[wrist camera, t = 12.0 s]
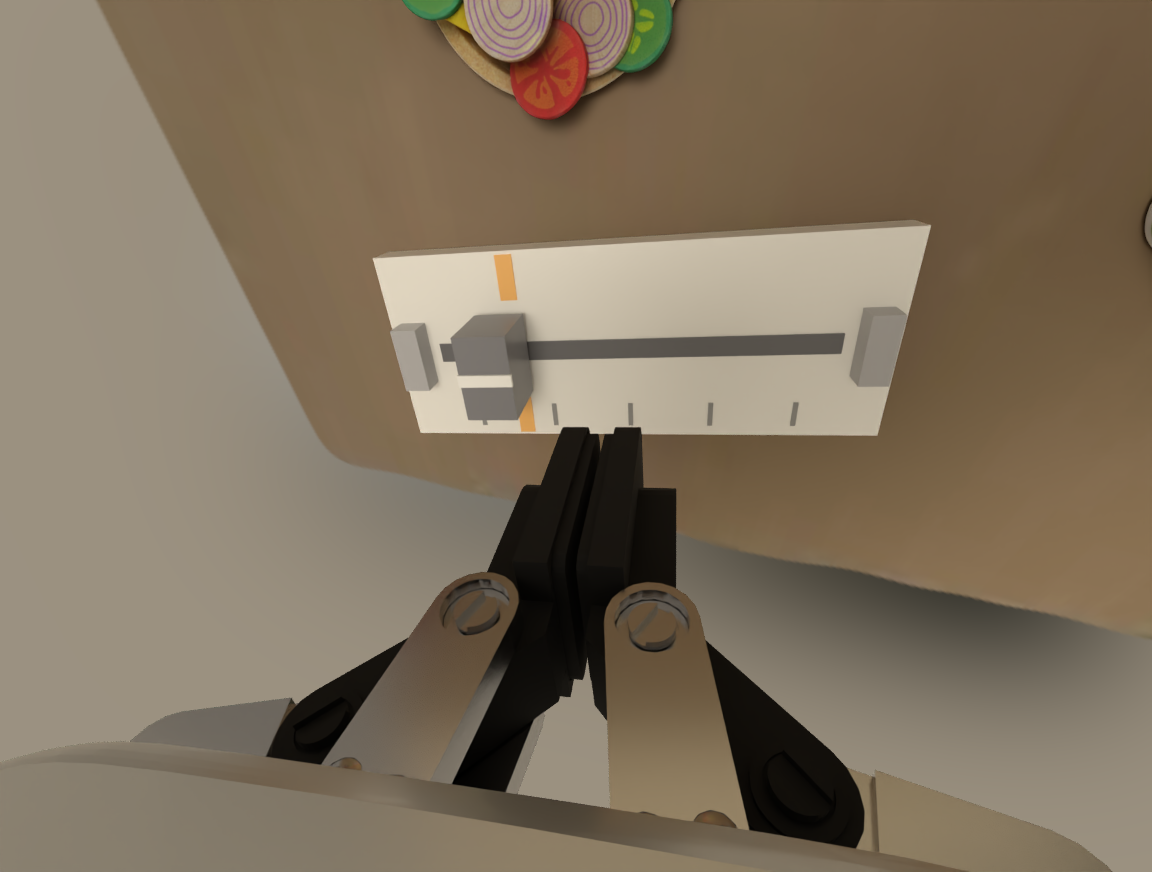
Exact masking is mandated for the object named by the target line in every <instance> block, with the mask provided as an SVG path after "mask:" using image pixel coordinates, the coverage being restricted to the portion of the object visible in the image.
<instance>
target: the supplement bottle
mask: <svg viewBox="0 0 1152 872" xmlns="http://www.w3.org/2000/svg"><path fill="white" fill-rule="evenodd" d="M1145 235H1146V239H1147V241H1148V243H1149V245H1150V246H1151V247H1152V203H1151V205H1150V207H1149V210H1148V212H1147V216H1146V220H1145Z"/></svg>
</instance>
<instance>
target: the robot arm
mask: <svg viewBox="0 0 1152 872" xmlns="http://www.w3.org/2000/svg"><path fill="white" fill-rule="evenodd" d="M587 657H588V664H589V671H590V678H591V681H592V688H593V695H594V703H595V706H596V707H597V709H598V710H599V711H600V712H601V714H602V715H603V716H604V718H605V719H606V720H607V727H608V759H609V791H610V808H604V807H597V806H590V805H584V804H578V803H571V802H565V801H558V800H552V799H545V798H539V797H532V796H525V795H518V791H519V788H520V786H521V783H522V780H523V778H524V775H525V772H526V770H527V767H528V764H529V762H530V759H531V756H532V753H533V751H534V748H535V746H536V743H537V740H538V737H539V735H540V732H541V729H542V726H543V721H544V717H545V714H544V712H545V711H546V710H547V709H549V708H550V707H551V706H553V705H554V704H556V703H557V702H558V701H559V698H560V696H564V697H571V692H572V686H573V681H574V679H579V680H583V677H584V674H585V668H586V663H587ZM0 872H1112V871H1111V870H1110V869H1109V867H1108V866H1107V865H1105V864H1104V863H1103V862H1102V861H1100V860H1099V859H1097V858H1096V857H1095V856H1094V855H1093V854H1091V853H1090V852H1089V851H1087V850H1086V849H1085V848H1084V847H1082V846H1081V845H1080V844H1078V843H1076V842H1074V841H1072V840H1070V839H1068V838H1066V837H1064V836H1062V835H1060V834H1058V833H1056V832H1054V831H1052V830H1049V829H1046V828H1043V827H1040V826H1037V825H1034V824H1031V823H1028V822H1026V821H1022V820H1019V819H1017V818H1014V817H1011V816H1008V815H1005V814H1002V813H999V812H996V811H994V810H991V809H988V808H985V807H982V806H979V805H976V804H973V803H970V802H967V801H964V800H961V799H959V798H955V797H953V796H950V795H947V794H944V793H941V792H938V791H935V790H932V789H929V788H926V787H924V786H921V785H918V784H915V783H912V782H909V781H906V780H903V779H900V778H897V777H894V776H891V775H888V774H885V773H883V772H880V771H877V770H875V771H874V774H873V776H869V775H867V774H864V773H861V772H858V771H855V770H852V769H849V768H846V766H845V765H844V764H843V763H842V762H841V761H840V760H839V759H838V758H837V757H836V756H835V754H834V753H833V752H832V751H831V750H830V749H828V748H827V747H826V746H825V745H824V744H823V743H822V742H820V741H819V740H818V739H817V738H816V737H815V736H814V735H812V734H811V733H810V732H809V731H808V730H807V729H806V728H805V727H803V726H802V725H801V724H800V723H799V722H798V721H797V720H795V719H794V718H793V717H792V716H791V715H790V714H789V713H788V712H786V711H785V710H784V709H783V708H782V707H781V706H780V705H778V704H777V703H776V702H775V701H774V700H773V699H772V698H770V697H769V696H768V695H767V694H766V693H765V692H763V690H761V689H760V688H759V687H758V686H757V685H756V684H755V683H754V682H752V681H751V680H750V679H749V678H748V677H747V676H746V675H744V674H743V673H742V672H741V671H740V670H739V669H737V668H736V667H735V666H734V665H733V664H732V663H731V662H730V661H729V660H727V659H726V658H725V657H724V656H723V655H722V654H721V653H719V652H718V651H717V650H716V649H715V648H714V647H712V645H710V644H709V643H708V642H707V641H706V640H705V636H704V632H703V627H702V623H701V619H700V615H699V613H698V611H697V608H696V606H695V604H694V603H693V602H692V601H691V600H690V599H689V598H688V596H686V594H684V593H682V592H681V591H679V590H678V589H676V489H671V488H643V459H642V432H641V427H615V429H614V434H605V436H604V440H603V445H602V449H601V453H600V442H599V435H598V434H590V430H589V428H588V427H563V428H562V430H561V432H560V435H559V438H558V440H557V443H556V446H555V448H554V451H553V454H552V456H551V459H550V462H549V464H548V467H547V470H546V472H545V475H544V478H543V480H542V483H541V485H526V486H524V487H523V489H522V491H521V493H520V495H519V498H518V500H517V502H516V505H515V507H514V510H513V512H512V514H511V517H510V519H509V522H508V524H507V526H506V528H505V531H504V533H503V536H502V538H501V540H500V543H499V545H498V547H497V550H496V553H495V555H494V557H493V559H492V562H491V564H490V567H489V569H488V571H487V572H480V573H475V574H469V575H467V576H464V577H462V578H459V579H457V580H455V581H454V582H452V583H451V584H450V585H448V586H447V587H445V588H444V590H443V591H442V592H441V593H440V594H439V595H438V596H437V597H436V599H435V600H434V602H433V603H432V605H431V606H430V607H429V609H428V610H427V612H426V613H425V615H424V616H423V618H422V619H421V620H420V622H419V623H418V625H417V626H416V628H415V629H414V631H413V632H412V634H411V635H410V637H409V638H407V639H405V640H403V641H402V642H400V643H398V644H396V645H395V646H393V647H391V648H389V649H388V650H386V651H384V652H382V653H381V654H379V655H377V656H375V657H374V658H372V659H370V660H368V661H366V662H365V663H363V664H361V665H359V666H358V667H356V668H354V669H352V670H351V671H349V672H347V673H345V674H344V675H342V676H340V677H339V678H337V679H335V680H333V681H331V682H330V683H328V684H326V685H324V686H323V687H321V688H319V689H317V690H316V691H314V692H313V693H311V694H310V695H309V696H307V697H306V698H304V699H303V700H302V701H300V702H299V703H297V704H295V703H294V701H293V700H292V698H284V699H277V700H269V701H262V702H254V703H245V704H238V705H230V706H222V707H214V708H206V709H198V710H190V711H183V712H179V713H175V714H172V715H169V716H165V717H164V718H162V719H160V720H158V721H156V722H155V723H153V724H151V725H149V726H148V727H146V728H145V729H144V730H143V731H142V732H141V733H139V734H138V735H137V736H135V737H134V738H133V739H132V740H131V741H130V742H124V741H123V742H122V741H121V742H97V743H86V744H78V745H71V746H65V747H59V748H54V749H48V750H43V751H39V752H35V753H32V754H28V755H25V756H21V757H17V758H14V759H10V760H6V761H2V762H0Z"/></svg>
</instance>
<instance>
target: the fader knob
mask: <svg viewBox="0 0 1152 872" xmlns="http://www.w3.org/2000/svg"><path fill="white" fill-rule="evenodd" d="M450 339H451V343H452V348H453V353H454V357H455V362H456V366H457V371H458V375H457V380H458V385H459V388H461V390H462V394H463V399H464V403H465V408H466V413H467V417H468V420H518V419H519V417H520V415H521V413H522V411H523V409H524V407H525V405H526V403H527V402H528V400H529V398H530V396H531V394H532V392H533V384H532V377H531V370H530V362H529V355H528V348H527V340H526V333H525V326H524V318H523V314H497V315H474V316H473V317H472V318H471V319H470V320H469V321H468V322H467V323H466V324H465V325H464V326H463V327H462V328H461V329H460V330H458V331H457V332H456V333H455V334H454V335H453V336H452V337H451V338H450Z"/></svg>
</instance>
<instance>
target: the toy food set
mask: <svg viewBox="0 0 1152 872" xmlns="http://www.w3.org/2000/svg"><path fill="white" fill-rule="evenodd" d="M402 1H403V2H404V4H405V5H406V6H407V8H408V9H409V10H410V11H412V12H413V13H414V14H416V15H417V16H419V17H421V18H423V19H426V20H431V21H436V22H437V24H438V25H439V27H440V29H441V31H442V32H443V34H444V36H445V37H446V39H447V40H448V42H449V43H450V45H451V46H452V47H453V49H454V50H455V51H456V53H457V54H458V55H459V56H460V57H461V58H462V60H463V61H464V62H465V63H466V64H467V65H468V66H469V67H470V68H471V69H472V70H473V71H475V72H476V73H477V74H478V75H479V76H480V77H482V78H483V79H484V80H486V81H487V82H489V83H490V84H492V85H493V86H495V87H497V88H499V89H500V90H502V91H504V92H507V93H509V94H512V95H514V96H515V98H516V100H517V102H518V103H519V105H520V106H521V107H522V108H523V109H524V110H525V111H526V112H527V113H529V114H530V115H532V116H534V117H536V118H540V119H550V120H552V119H556V118H558V117H560V116H562V115H564V114H566V113H567V112H568V111H569V110H570V109H571V108H572V107H573V106H574V105H575V104H576V103H577V102H578V100H579V99H580V97H582V96H585V95H587V94H590V93H592V92H595V91H597V90H599V89H601V88H602V87H604V86H606V85H607V84H609V83H611V82H612V81H614V80H615V79H616V78H618V77H619V76H620V75H622V74H623V73H624V72H628V73H633V72H637V71H641V70H643V69H645V68H646V67H648V66H650V65H651V64H653V63H654V62H655V61H656V60H657V59H658V58H659V57H660V55H661V54H662V52H663V51H664V49H665V47H666V45H667V44H668V42H669V39H670V35H671V31H672V26H673V13H672V7H673V5H674V2H675V0H402Z"/></svg>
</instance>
